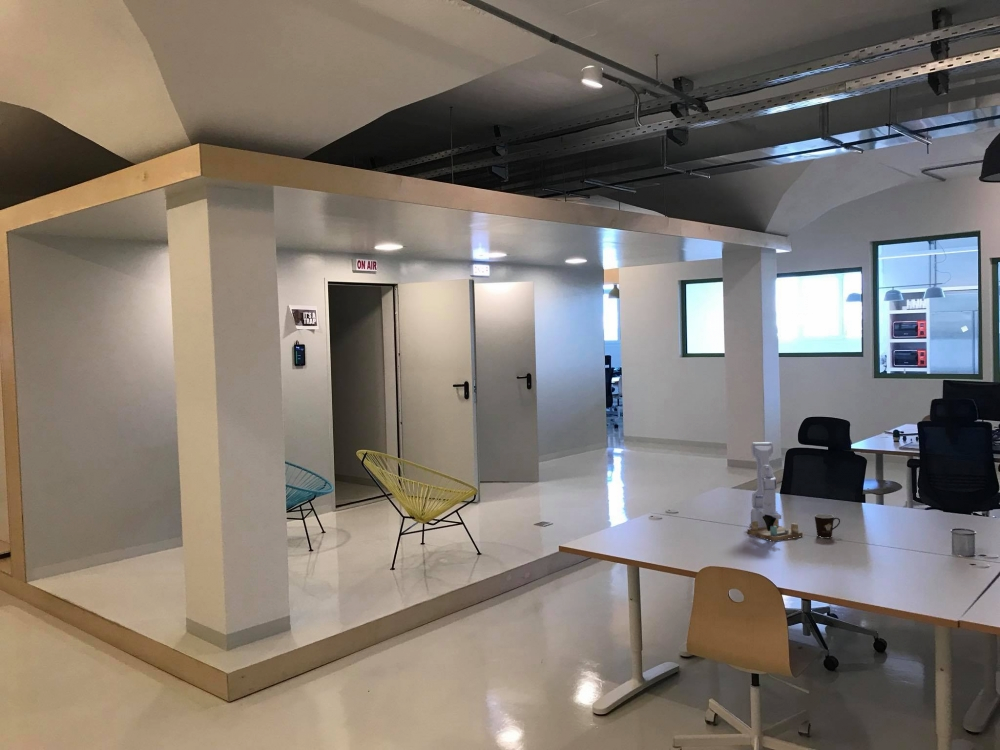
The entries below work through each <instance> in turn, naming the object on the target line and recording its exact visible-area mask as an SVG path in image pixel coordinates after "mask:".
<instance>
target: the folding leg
mask: <svg viewBox="0 0 1000 750" xmlns="http://www.w3.org/2000/svg"><path fill="white" fill-rule="evenodd" d="M785 533H789V530H785V531H783V532H777V526H770V535H773V536H775V535H779V534H785Z"/></svg>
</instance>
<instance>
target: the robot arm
mask: <svg viewBox="0 0 1000 750" xmlns="http://www.w3.org/2000/svg"><path fill="white" fill-rule="evenodd" d="M750 446H751V447H750V448H751V457H752V458H754V459H755V461H756V481H757V483H756V486H757V489H756V490H754V491H753V492H752V494H751V506H752V508H751V509H750V522H751V521H757V522H758V528H759V527H765V526H767V531H770V526H773V524H774V522H775V520H776V519H779V520H781V519H782V514H781V513H779V512H778V511H777V509H776V508H777V506H776V505H777V504H776V502H777V501H776V498H777V497H776V490H777V487H778V486H777V485H778V483H777V479H776V476H775V475H774V469H773V467H772V466H771V465H770V458H771V457H772V454H773V453H774V445H773V442H772V441H763V442H758V441H755V442H754V441H753V442H751V445H750ZM749 525H750V526H751V523H749Z"/></svg>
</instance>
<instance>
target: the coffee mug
mask: <svg viewBox="0 0 1000 750" xmlns="http://www.w3.org/2000/svg"><path fill="white" fill-rule="evenodd" d="M835 520H837V521H838V523H837V525H835V526H834V521H835ZM814 522H815V527H816V529H815V530H816V535H818V536H821V537H831V536H832V537H833V531H834V530H835V529H836V528H837V527H838V526H840V524H841V519H840V518H838V517H835V516H834V515H833V514H829V513H818V514H814ZM818 536H817V537H818ZM832 537H831V538H832Z"/></svg>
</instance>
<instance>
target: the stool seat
mask: <svg viewBox="0 0 1000 750" xmlns="http://www.w3.org/2000/svg"><path fill="white" fill-rule="evenodd" d="M779 521H780V519H776V520H775V522H774V524H773V526H777V532H783V531H785V530H789V533H785V534H779V535H775V536H773V535H770V531H767V526H765V527H758V522H757V521H751V520H750V524H751V525H750V528H747V531H746V532H747V533H748V535H751V534H752V535H751V536H754V535H755V536H754V537H757V536H758V537H757V538H760V537H761V538H760V539H763V538H765V539H764V540H766V539H768V540H767V541H769V540H771V541H770V542H773V541H775V542H778V541H777V540H781V541H784V540H783V539H787V540H789V539H788V538H792V539H794V538H793V537H798V538H800V537H799V536H803V532H802V531H799V523H797V522H796V523H795V522H792V523H790V528H787V527H784V526H782V525H781V526H780V524H779Z"/></svg>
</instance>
